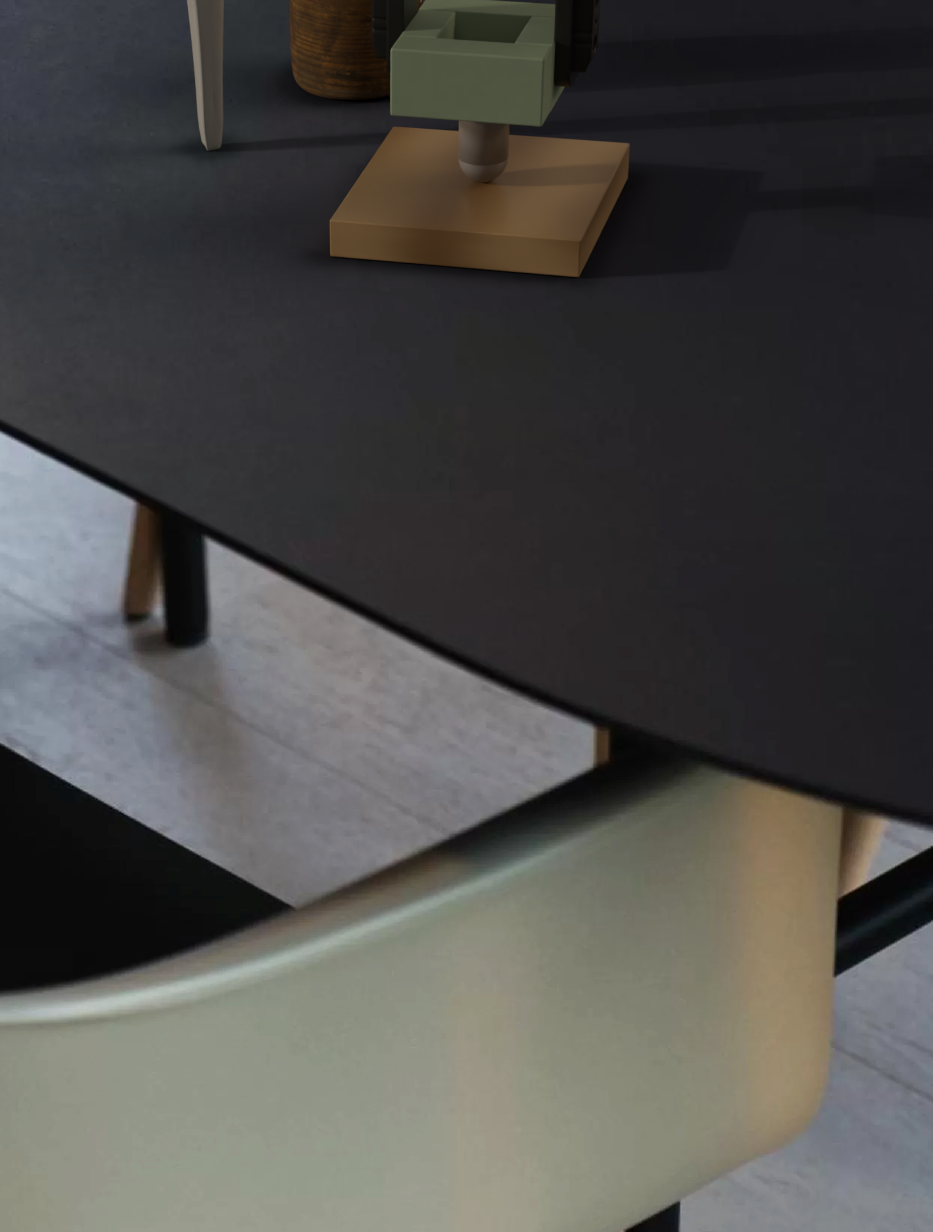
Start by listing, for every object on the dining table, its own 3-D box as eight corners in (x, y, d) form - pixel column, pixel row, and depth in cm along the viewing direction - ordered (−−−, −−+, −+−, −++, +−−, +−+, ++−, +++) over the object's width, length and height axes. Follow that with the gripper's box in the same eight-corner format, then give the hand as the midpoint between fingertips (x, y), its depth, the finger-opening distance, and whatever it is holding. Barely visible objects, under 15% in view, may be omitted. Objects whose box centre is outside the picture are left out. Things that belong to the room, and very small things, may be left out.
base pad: (628, 178, 111) (637, 18, 107) (579, 277, 104) (587, 109, 100) (393, 160, 114) (393, 3, 110) (329, 256, 107) (327, 92, 103)
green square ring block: (573, 71, 107) (577, 4, 106) (542, 127, 103) (544, 58, 101) (427, 61, 109) (427, -5, 107) (389, 116, 104) (389, 48, 103)
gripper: (268, -389, 94) (280, 96, 105) (682, -379, 90) (649, 122, 101) (326, -436, 99) (332, 29, 110) (719, -429, 95) (684, 52, 106)
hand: (484, 72), depth 105 cm, fingers closed on green square ring block, 6 cm apart
